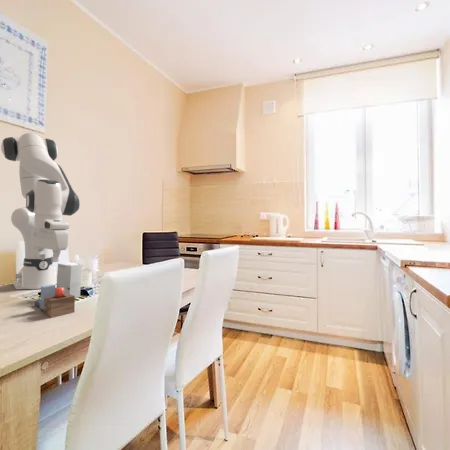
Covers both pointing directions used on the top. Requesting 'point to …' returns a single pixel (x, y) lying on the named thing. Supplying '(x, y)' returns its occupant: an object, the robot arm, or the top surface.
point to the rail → (37, 303)
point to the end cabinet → (59, 305)
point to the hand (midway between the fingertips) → (48, 260)
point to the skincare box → (69, 278)
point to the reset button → (59, 292)
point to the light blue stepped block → (46, 293)
